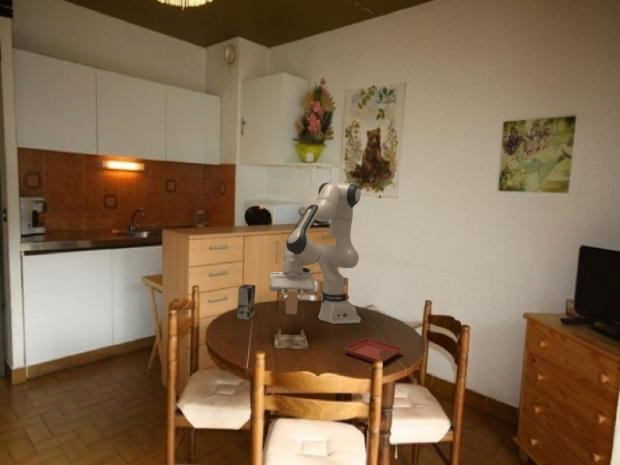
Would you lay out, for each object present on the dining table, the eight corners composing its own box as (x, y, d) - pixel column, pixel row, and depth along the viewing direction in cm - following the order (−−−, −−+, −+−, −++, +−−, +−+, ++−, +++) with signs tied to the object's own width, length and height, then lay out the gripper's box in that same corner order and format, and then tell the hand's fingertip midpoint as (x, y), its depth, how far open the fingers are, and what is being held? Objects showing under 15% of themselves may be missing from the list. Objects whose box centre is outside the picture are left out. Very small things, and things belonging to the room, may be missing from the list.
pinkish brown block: (296, 311, 180) (297, 289, 179) (296, 314, 176) (298, 291, 175) (286, 311, 180) (287, 288, 179) (286, 313, 176) (287, 290, 175)
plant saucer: (342, 355, 170) (343, 347, 170) (365, 344, 184) (366, 337, 184) (381, 368, 159) (381, 360, 158) (402, 356, 173) (403, 348, 172)
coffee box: (248, 320, 207) (250, 288, 205) (236, 318, 208) (237, 287, 206) (254, 315, 216) (256, 285, 214) (243, 313, 217) (244, 283, 215)
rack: (305, 337, 186) (306, 329, 186) (307, 348, 173) (308, 339, 173) (274, 337, 185) (275, 328, 184) (274, 348, 172) (275, 338, 172)
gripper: (269, 268, 182) (268, 295, 174) (315, 270, 184) (316, 296, 175) (269, 275, 187) (267, 302, 178) (314, 277, 189) (314, 304, 180)
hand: (292, 299), depth 177 cm, fingers closed on pinkish brown block, 4 cm apart
